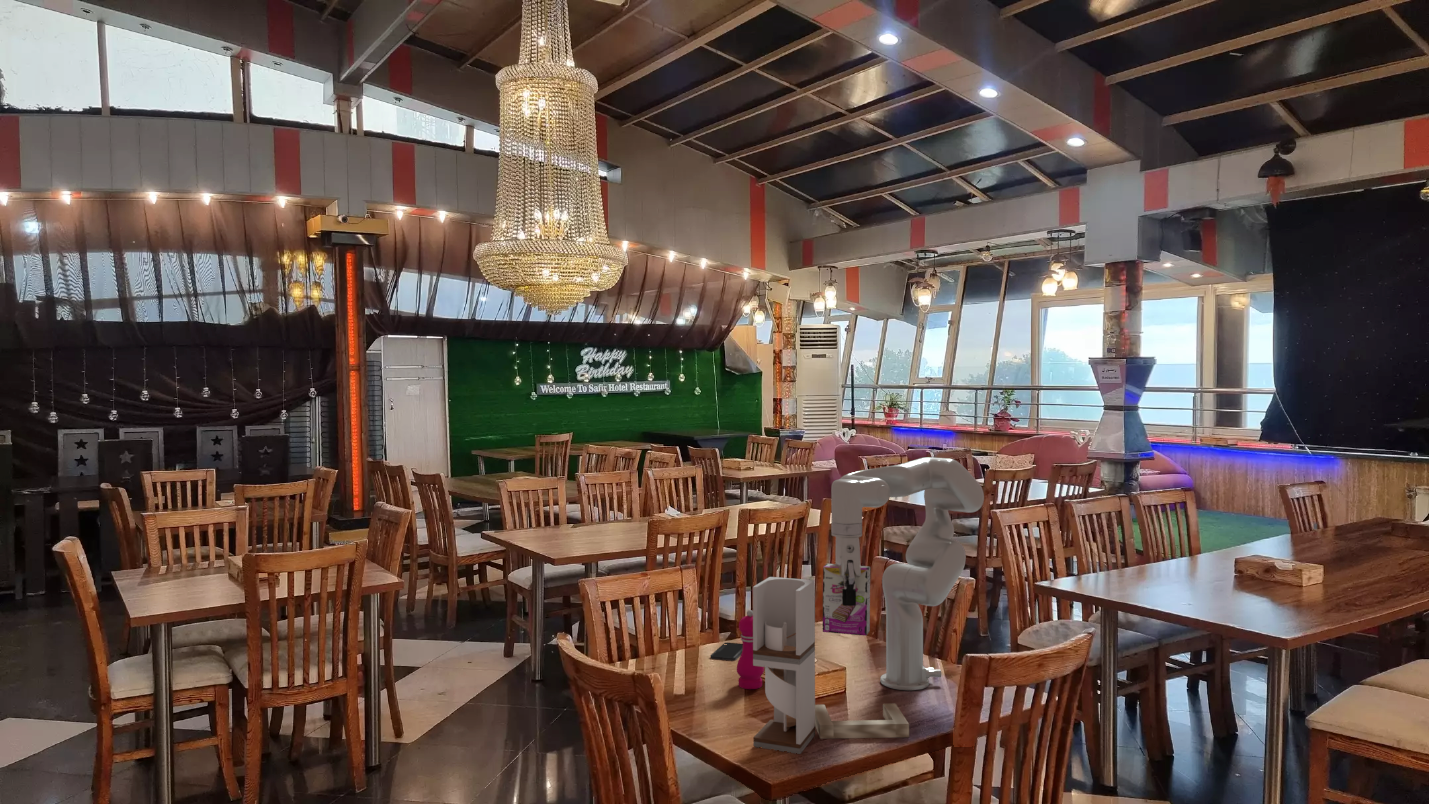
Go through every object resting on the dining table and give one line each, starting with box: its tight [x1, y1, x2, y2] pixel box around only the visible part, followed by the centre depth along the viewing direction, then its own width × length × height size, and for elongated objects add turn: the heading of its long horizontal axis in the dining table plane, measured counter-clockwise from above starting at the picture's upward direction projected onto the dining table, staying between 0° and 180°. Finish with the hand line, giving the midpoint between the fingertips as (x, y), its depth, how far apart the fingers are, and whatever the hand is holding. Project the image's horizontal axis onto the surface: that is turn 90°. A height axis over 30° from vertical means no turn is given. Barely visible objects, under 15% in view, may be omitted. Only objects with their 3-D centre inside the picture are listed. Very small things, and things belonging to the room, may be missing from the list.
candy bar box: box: [822, 563, 871, 637], centre depth 220 cm, size 11×5×16 cm, turn 72°
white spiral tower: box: [752, 576, 816, 755], centre depth 197 cm, size 11×11×35 cm
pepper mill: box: [736, 609, 765, 690], centre depth 234 cm, size 7×7×20 cm
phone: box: [710, 642, 743, 662], centre depth 264 cm, size 8×1×15 cm
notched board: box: [815, 703, 910, 740], centre depth 205 cm, size 20×13×3 cm, turn 92°
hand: (846, 601), depth 220 cm, fingers closed on candy bar box, 6 cm apart
